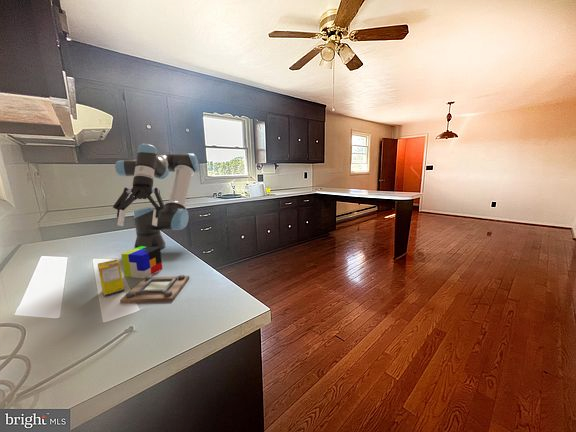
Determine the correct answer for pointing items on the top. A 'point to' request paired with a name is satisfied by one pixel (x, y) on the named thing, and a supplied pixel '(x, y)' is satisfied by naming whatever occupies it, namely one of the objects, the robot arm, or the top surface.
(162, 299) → the base plate
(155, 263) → the puzzle toy
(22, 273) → the top surface
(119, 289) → the supplement box
